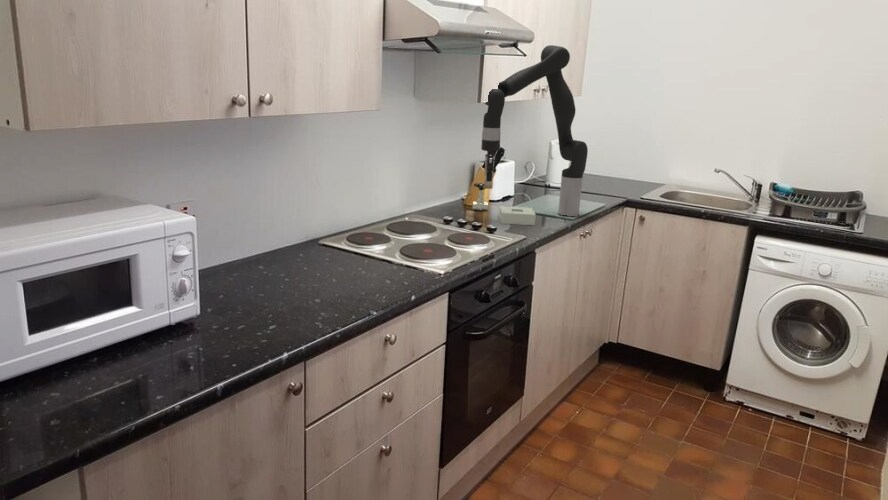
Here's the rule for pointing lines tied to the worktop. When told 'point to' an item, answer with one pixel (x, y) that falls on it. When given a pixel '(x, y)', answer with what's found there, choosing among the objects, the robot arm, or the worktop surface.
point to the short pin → (469, 215)
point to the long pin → (487, 184)
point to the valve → (480, 199)
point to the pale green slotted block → (517, 215)
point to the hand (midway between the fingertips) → (488, 180)
